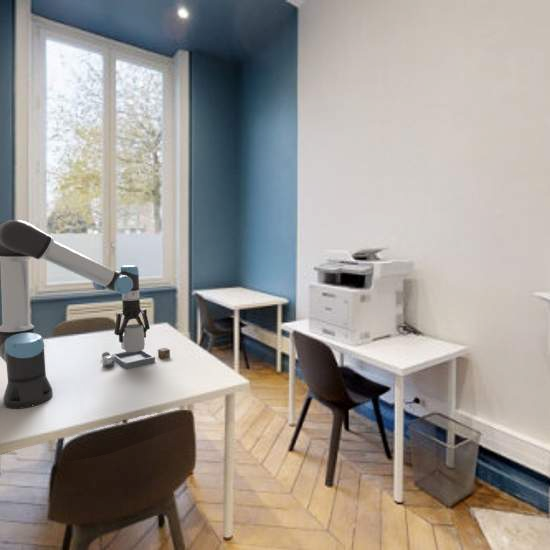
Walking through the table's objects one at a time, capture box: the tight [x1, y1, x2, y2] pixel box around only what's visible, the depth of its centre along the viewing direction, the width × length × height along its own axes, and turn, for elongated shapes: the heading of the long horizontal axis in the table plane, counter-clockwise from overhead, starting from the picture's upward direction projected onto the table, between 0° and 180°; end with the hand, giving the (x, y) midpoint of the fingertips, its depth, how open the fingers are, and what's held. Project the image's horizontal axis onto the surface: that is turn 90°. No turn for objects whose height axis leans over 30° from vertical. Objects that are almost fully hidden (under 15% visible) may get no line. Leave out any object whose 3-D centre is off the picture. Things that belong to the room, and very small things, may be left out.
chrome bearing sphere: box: [101, 354, 115, 369], centre depth 177 cm, size 5×5×4 cm
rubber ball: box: [101, 351, 111, 358], centre depth 185 cm, size 4×4×4 cm
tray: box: [111, 349, 156, 370], centre depth 183 cm, size 14×17×2 cm
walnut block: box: [157, 347, 171, 360], centre depth 188 cm, size 4×4×4 cm
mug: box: [123, 323, 145, 352], centre depth 183 cm, size 12×8×11 cm
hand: (133, 346), depth 183 cm, fingers closed on mug, 8 cm apart
